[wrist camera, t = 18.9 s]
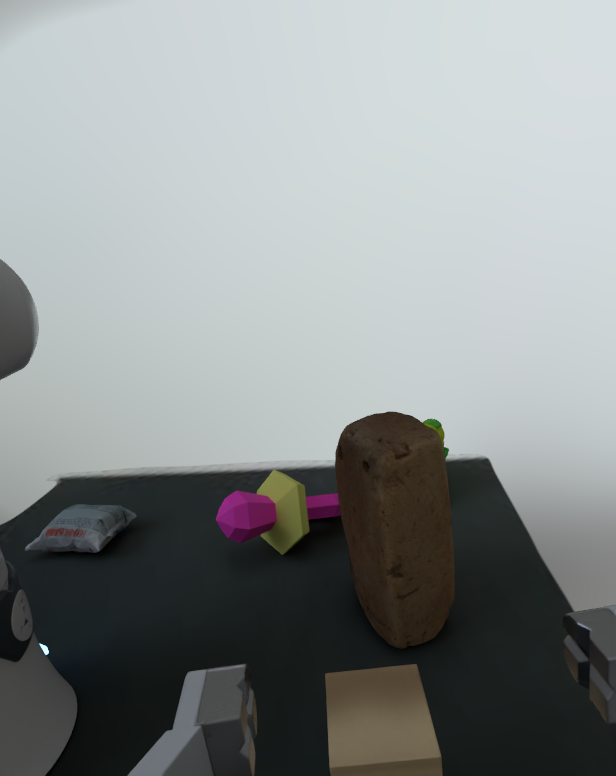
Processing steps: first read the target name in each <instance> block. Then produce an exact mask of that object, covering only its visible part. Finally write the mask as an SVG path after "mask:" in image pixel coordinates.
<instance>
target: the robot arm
mask: <svg viewBox="0 0 616 776" xmlns="http://www.w3.org/2000/svg"><path fill="white" fill-rule="evenodd" d="M38 328H39V327H38V315H37V311H36V306H35V303H34V301H33V298H32V296H31V294H30V292H29V290H28V289H27V287H26V285H25V284H24V283H23V281H22V280H21V278H20V277H19V276H18V275H17V274H16V273H15V272H14V271H13V270H12V269H11V268H10V267H9V266H8V265H7V264H6V263H5V262H3V261H2V260H1V259H0V380H1V379H3V378H5V377H7V376H9V375H11V374H13V373H15V372H17V371H19V370H21V369H23V368H24V367H25V366H26V365H27V364H28V362H29V361H30V359H31V357H32V355H33V352H34V350H35V347H36V344H37V338H38V330H39V329H38ZM563 628H564V629H565V630H566V632H567V633H568V636H567V637H566V639H565V640H564V642H563V647H564V656H565V659H566V662H567V665H568V667H569V669H570V671H571V673H572V675H573V677H574V678H575V679H576V681H577V682H578V684H580V685H582V686H583V687H585V688H587V689H589V690H590V701H591V702H592V703H593V705H594V706H595V707H596V709H597V710H598V712H599V713H600V714H601V716H602V717H603V718H604V720H605V721H606V723H607V724H614V723H616V605H611V606H606V607H603V608H596V609H590V610H584V611H577V612H571V613H565V615H564V617H563ZM48 653H49V652H48V649H47V647H46V646H44V645H42V644H39V642H38V640H37V638H36V636H35V634H34V632H33V622H32V615H31V611H30V607H29V604H28V601H27V598H26V595H25V593H24V591H23V590H22V588H21V585H20V582H19V580H18V577H17V575H16V572H15V570H14V567H13V566H12V564H10V563H9V562H8V561H6V560H4V557H3V554H2V551H1V548H0V776H45V775H46V774H47V773H48V772H49V770H50V769H51V768H52V766H53V765H54V764H55V762H56V761H57V759H58V758H59V756H60V755H61V753H62V751H63V749H64V748H65V746H66V744H67V742H68V740H69V738H70V735H71V733H72V730H73V728H74V724H75V720H76V715H77V699H76V695H75V692H74V690H73V688H72V687H71V686H70V684H69V683H68V682H67V681H66V680H64V678H63V677H62V676H61V675H60V674H59V673H58V672H57V670H56V669H55V668H54V666H53V665H52V664H51V662H50V661H49V659H48V657H47V656H46V654H48ZM250 678H251V676H250V671H249V667H248V665H247V664H241V665H233V666H225V667H218V668H210V669H207V670H198V671H190V672H188V674H187V675H186V677H185V681H184V685H183V689H182V693H181V697H180V701H179V705H178V709H177V713H176V717H175V722H174V726H173V730H170V731H166V732H165V733H164V734H163V736H162V737H161V738H160V739H159V740H158V741H157V742H156V744H155V745H154V746H153V747H152V748H151V749H150V750H149V752H148V753H147V754H146V755H145V756H144V757H143V758H142V760H141V761H140V762H139V763H138V764H137V765H136V766H135V768H134V769H133V770H132V771H131V772H130V773H129V774H128V776H254V768H255V748H254V743H253V739H254V738H255V736H256V734H257V709H256V701H255V695H254V691H253V690H252V689H251V688H250Z"/></svg>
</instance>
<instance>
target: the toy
mask: <svg viewBox="0 0 616 776" xmlns="http://www.w3.org/2000/svg"><path fill="white" fill-rule="evenodd" d="M339 515H341V511H340V506H339V500H338V493H336V494H327V495H318V496H310V497H306V496H305V487H304V485H302V484H300V483H299V482H297V481H295V480H294V479H292V478H290V477H289V476H287V475H285V474H284V473H281V472H278V471H275V470H273V472H272V473H271V474H270V475H269V477H268V478H267V479H266V480H265V482H264V483H263V484H262V485H261V487H260V488H259V489H258V490H257V494H253V493H247V492H241V491H235V492H234V493H232V494H231V495H229V496H228V497H226V498H225V500H224V501H223V503H222V505H221V507H220V509H219V511H218V515H217V518H216V521H217V523H218V525H219V526H220V528H221V530H222V531H223V532H224V534H225V535H226V536H227V537H228V539H231V540H234V541H236V542H239V543H242V542H245V541H247V540H249V539H251V538H254V537H256V536H258V535H260V534H261V537H262V538H263V539H265V540H266V541H267V542H268V543H269V544H270V545H271V546H272V547H274V548H275V549H276V550H277V551H278V552H279V553H280V554H282V555H283V554H285V553H286V552H288V551H289V550H291V549H292V548H293V547H294V546H295V545H296V544H297V543H298V542H299V541H300V540H301V539H302V538H303V537H304V536H305V535H306V534H307V533H308V532H309V523H308V520H310V519H318V518H326V517H334V516H339Z"/></svg>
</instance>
